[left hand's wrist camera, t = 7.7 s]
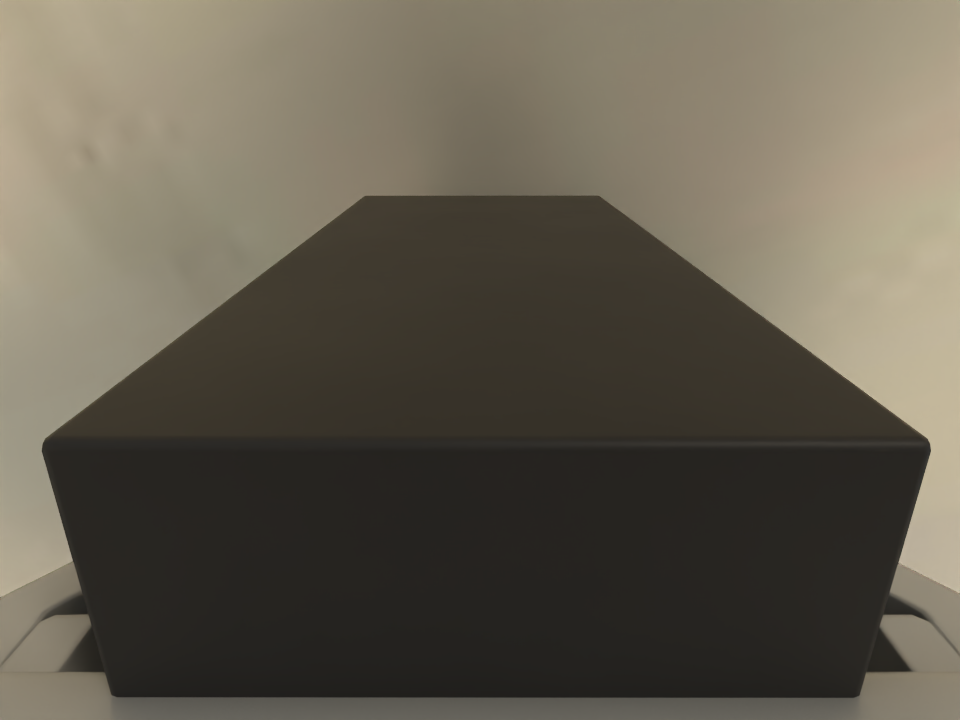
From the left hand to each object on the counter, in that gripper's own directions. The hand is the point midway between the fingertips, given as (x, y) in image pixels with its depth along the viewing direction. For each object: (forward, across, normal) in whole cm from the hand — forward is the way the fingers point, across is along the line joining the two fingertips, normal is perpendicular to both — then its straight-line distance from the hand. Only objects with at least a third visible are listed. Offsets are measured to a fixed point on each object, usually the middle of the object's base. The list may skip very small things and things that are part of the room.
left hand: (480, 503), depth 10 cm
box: (+7, 0, +9) cm, 12 cm away
